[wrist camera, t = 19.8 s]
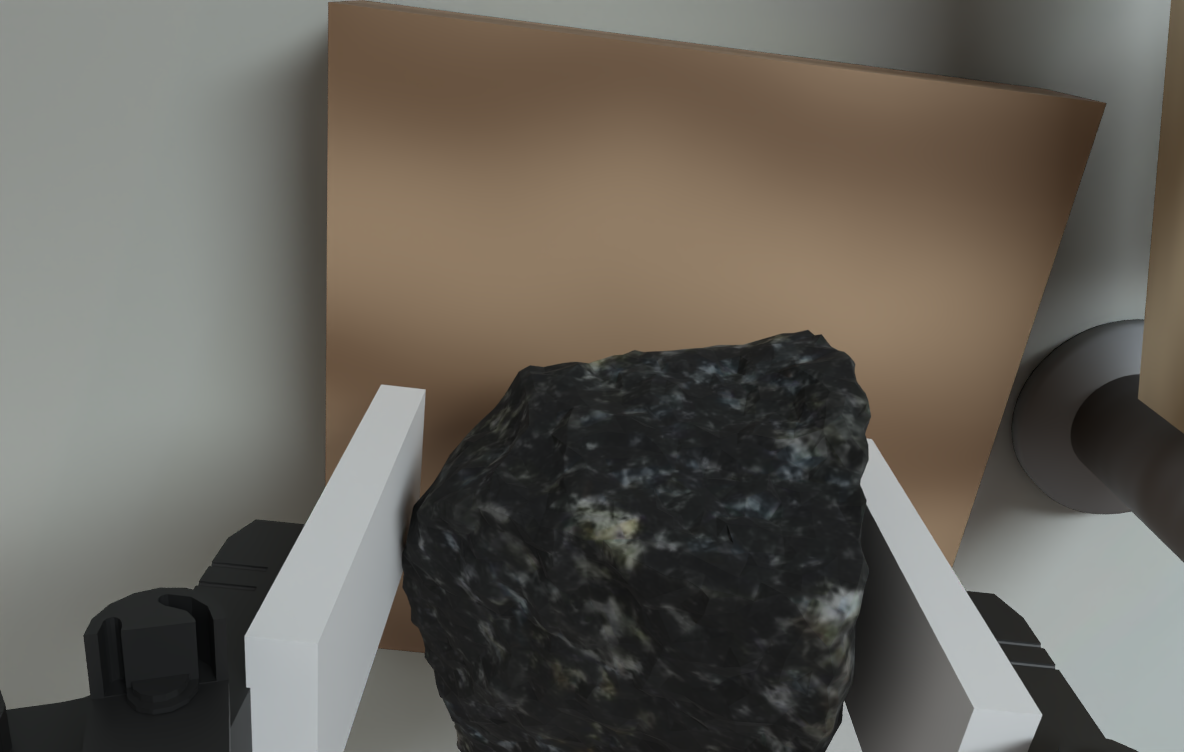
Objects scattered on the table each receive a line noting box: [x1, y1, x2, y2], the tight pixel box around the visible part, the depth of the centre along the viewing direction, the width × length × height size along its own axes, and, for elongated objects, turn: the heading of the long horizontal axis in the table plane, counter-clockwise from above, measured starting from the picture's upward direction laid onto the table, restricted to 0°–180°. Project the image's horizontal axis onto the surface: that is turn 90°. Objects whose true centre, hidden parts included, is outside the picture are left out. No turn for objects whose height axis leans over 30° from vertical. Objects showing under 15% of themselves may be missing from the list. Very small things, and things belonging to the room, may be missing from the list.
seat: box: [325, 0, 1184, 653], centre depth 18 cm, size 14×20×7 cm
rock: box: [402, 330, 871, 752], centre depth 14 cm, size 7×10×6 cm
